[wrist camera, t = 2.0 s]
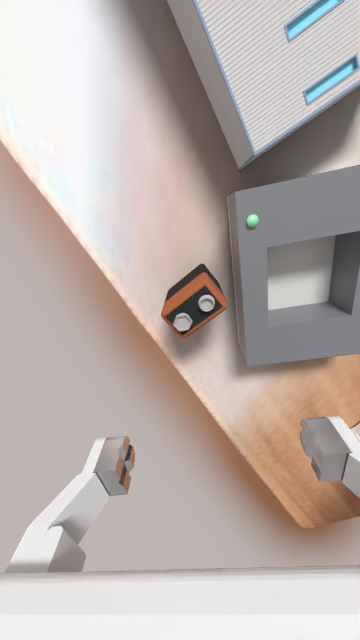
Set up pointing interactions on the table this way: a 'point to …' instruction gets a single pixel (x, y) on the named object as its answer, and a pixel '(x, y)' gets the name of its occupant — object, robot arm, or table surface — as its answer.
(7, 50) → the table surface
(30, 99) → the table surface
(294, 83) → the white slatted block
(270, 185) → the dock
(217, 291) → the battery
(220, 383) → the table surface
